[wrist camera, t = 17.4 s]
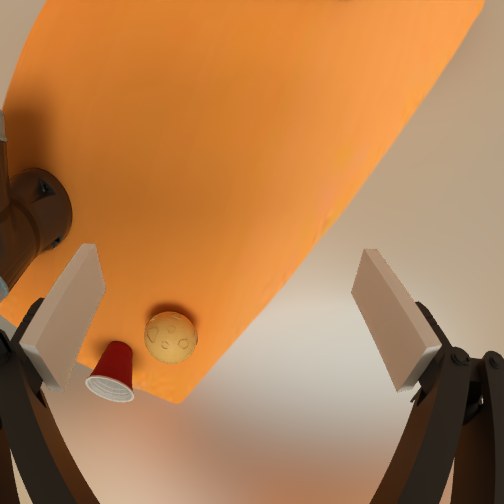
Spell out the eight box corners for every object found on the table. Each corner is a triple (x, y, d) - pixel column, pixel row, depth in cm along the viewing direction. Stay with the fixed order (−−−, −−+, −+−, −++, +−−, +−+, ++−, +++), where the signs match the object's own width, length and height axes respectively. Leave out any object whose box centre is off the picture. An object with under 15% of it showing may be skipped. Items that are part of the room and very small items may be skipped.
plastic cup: (100, 357, 64) (88, 397, 54) (97, 328, 59) (81, 371, 48) (142, 368, 66) (134, 409, 56) (144, 340, 61) (133, 385, 51)
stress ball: (182, 335, 62) (214, 349, 55) (148, 362, 55) (177, 381, 49) (165, 296, 58) (196, 307, 52) (126, 323, 52) (154, 339, 45)
